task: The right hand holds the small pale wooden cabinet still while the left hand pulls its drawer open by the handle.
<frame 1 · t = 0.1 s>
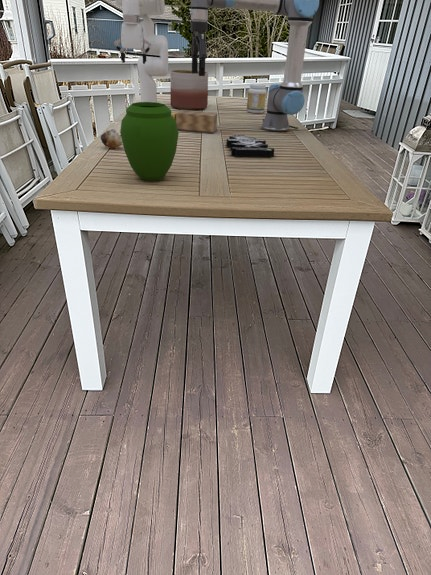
left hand: (133, 63, 194), 31 cm above the table, tool pointing down, fingers open, 9 cm apart
right hand: (198, 74, 194), 28 cm above the table, tool pointing down, fingers open, 13 cm apart
supplement tub: (255, 112, 279), on the table
drawer: (186, 120, 219), point 4 cm above the table, slide at 0.9 cm
cabinet: (196, 130, 220), on the table
seashell: (112, 148, 180), on the table
vase: (151, 178, 146), on the table
planter: (189, 107, 282), on the table
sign: (247, 149, 190), on the table
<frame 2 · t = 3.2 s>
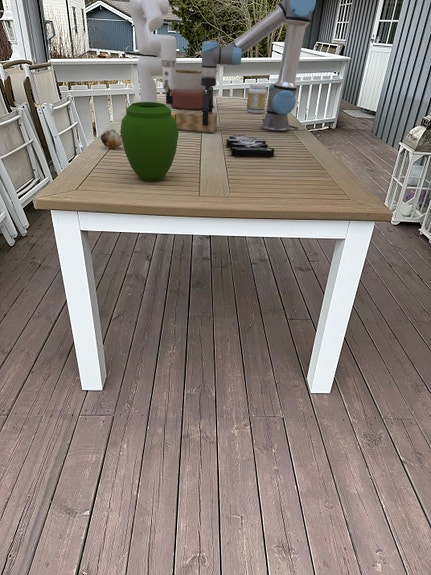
left hand: (169, 103, 216), 12 cm above the table, tool pointing down, fingers closed
right hand: (207, 123, 218), 4 cm above the table, tool pointing down, fingers closed on cabinet, 11 cm apart
cabinet: (196, 130, 220), on the table, touching right hand
everything else where it was.
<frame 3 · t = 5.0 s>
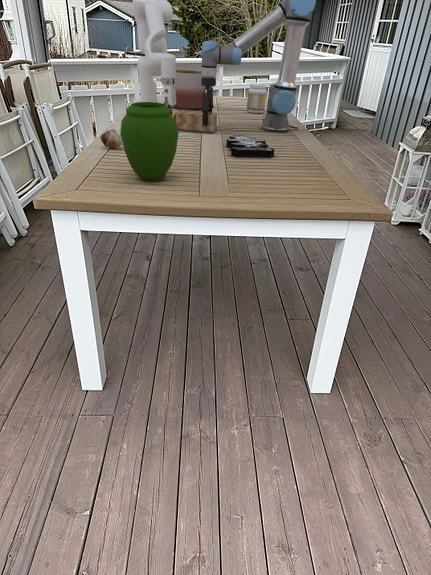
left hand: (169, 119, 220), 4 cm above the table, tool pointing down, fingers closed
right hand: (207, 123, 218), 4 cm above the table, tool pointing down, fingers closed on cabinet, 11 cm apart
drawer: (186, 120, 219), point 4 cm above the table, slide at 1.2 cm, touching left hand
cabinet: (196, 130, 220), on the table, touching right hand
everything else where it was.
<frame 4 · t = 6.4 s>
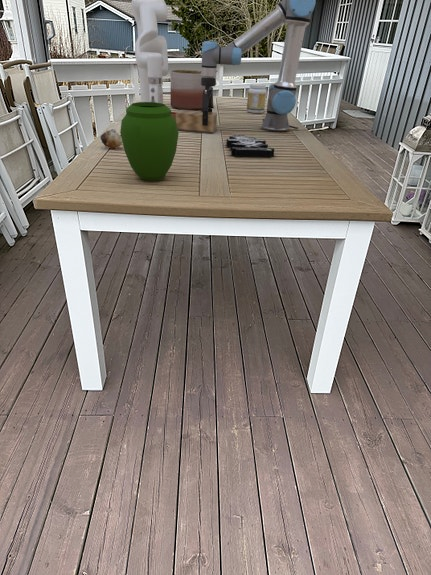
left hand: (156, 118, 221), 4 cm above the table, tool pointing down, fingers closed
right hand: (207, 123, 218), 4 cm above the table, tool pointing down, fingers closed on cabinet, 11 cm apart
drawer: (173, 119, 220), point 4 cm above the table, slide at 8.3 cm, touching left hand
cabinet: (196, 130, 220), on the table, touching right hand
everything else where it was.
when the right hand's fingers open (4 cm above the table, at t = 8.3 s): cabinet stays where it is, on the table.
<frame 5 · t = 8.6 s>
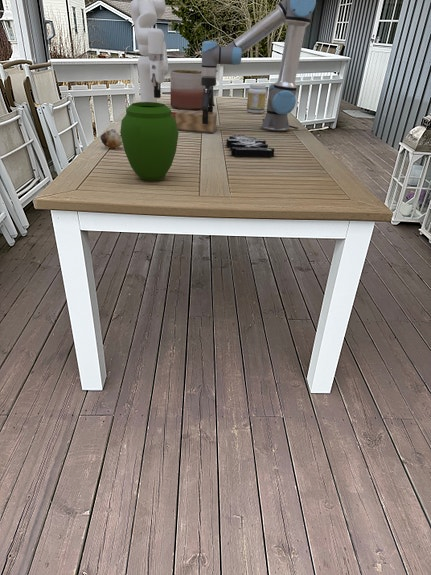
left hand: (157, 97, 215), 15 cm above the table, tool pointing down, fingers closed
right hand: (207, 121, 217), 5 cm above the table, tool pointing down, fingers open, 13 cm apart
drawer: (172, 119, 220), point 4 cm above the table, slide at 8.4 cm
cabinet: (196, 130, 220), on the table
everything else where it was.
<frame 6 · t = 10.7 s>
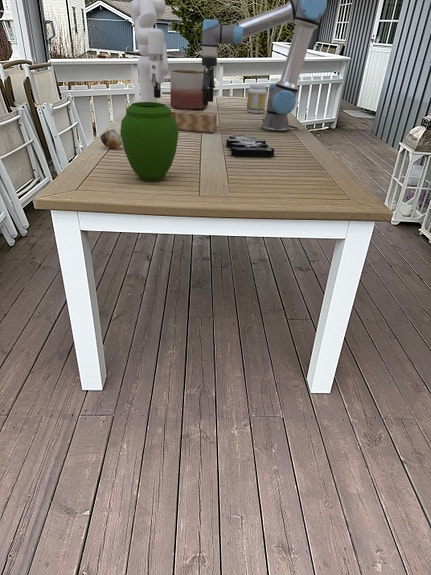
left hand: (157, 97, 215), 15 cm above the table, tool pointing down, fingers closed
right hand: (207, 103, 212), 14 cm above the table, tool pointing down, fingers open, 13 cm apart
nothing on the table moved.
at the end: drawer slide at 8.4 cm; cabinet tilted 0°; cabinet never tilted more than 2° during the clip; cabinet moved 0.2 cm from its start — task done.
